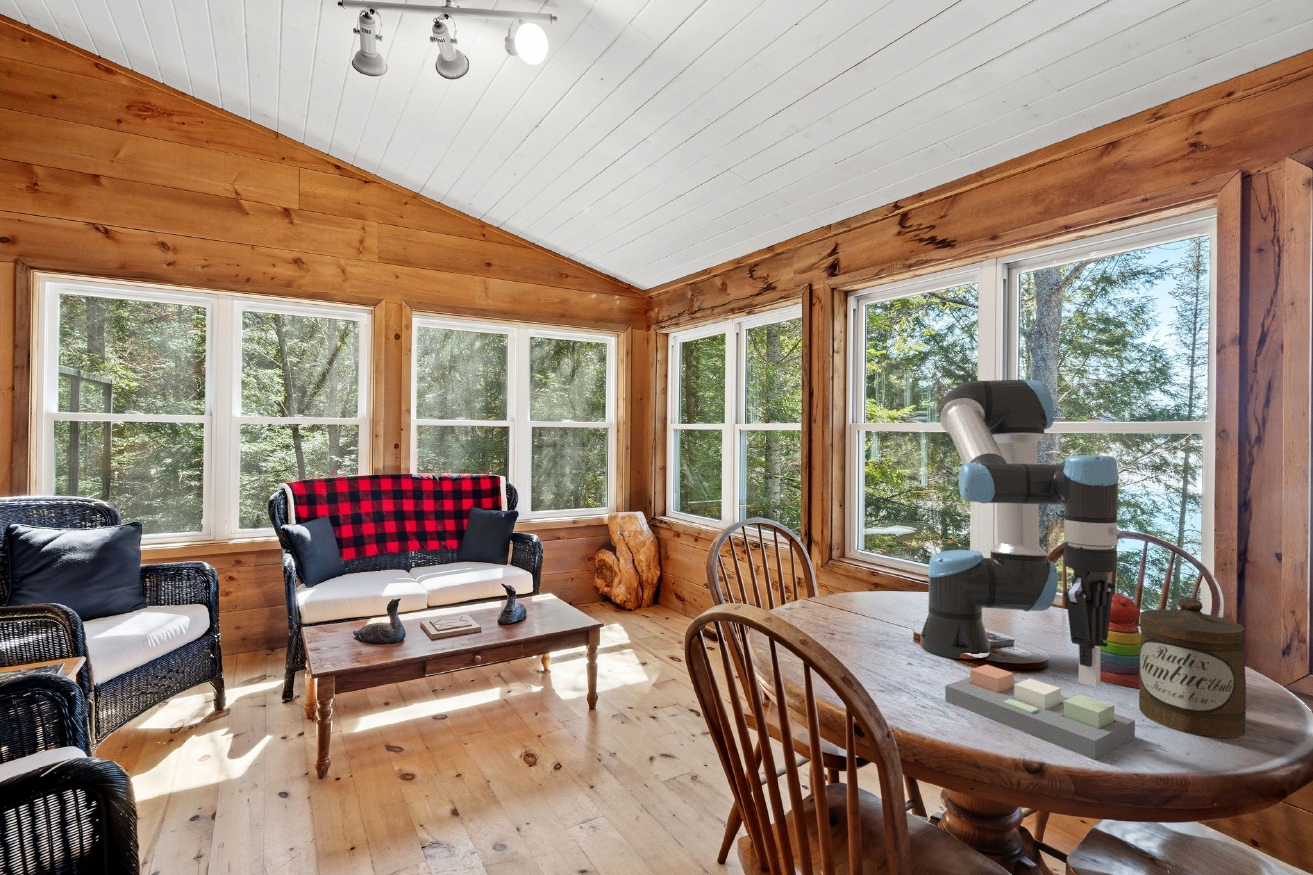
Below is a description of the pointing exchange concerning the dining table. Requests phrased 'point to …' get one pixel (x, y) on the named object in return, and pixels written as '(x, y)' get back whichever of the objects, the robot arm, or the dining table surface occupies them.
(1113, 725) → the console
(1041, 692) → the off-white key
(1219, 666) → the wooden container
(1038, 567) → the robot arm
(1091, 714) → the sage green key
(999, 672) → the terracotta key
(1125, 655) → the stacking bear
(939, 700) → the dining table surface
